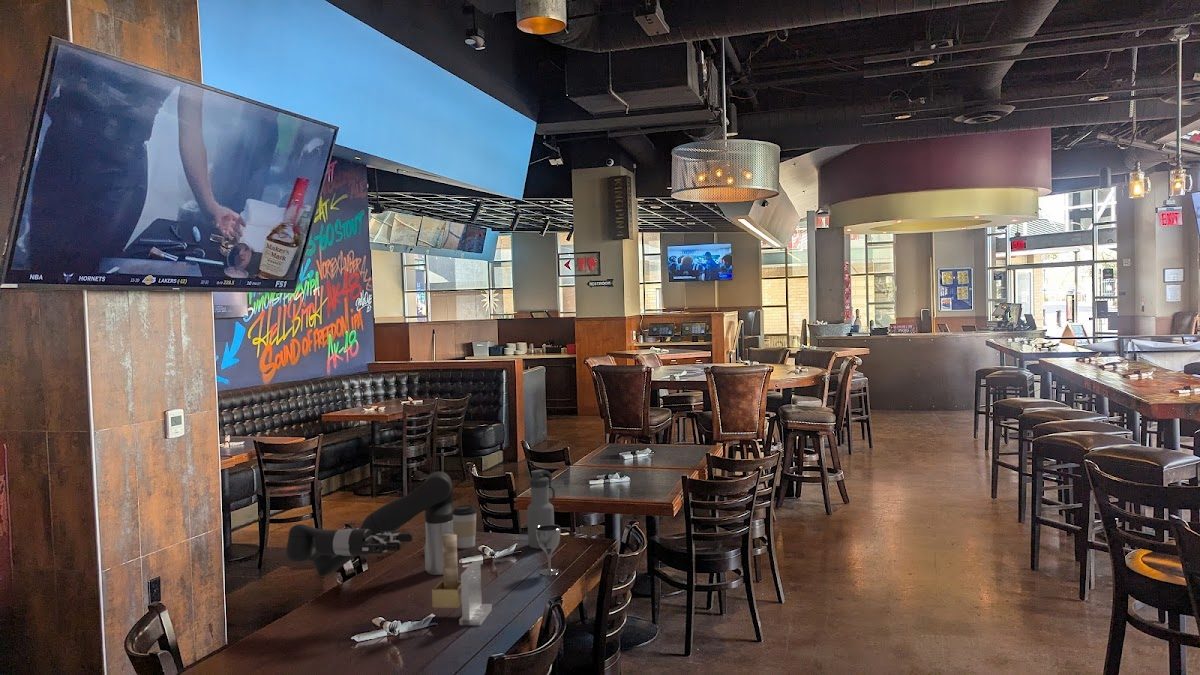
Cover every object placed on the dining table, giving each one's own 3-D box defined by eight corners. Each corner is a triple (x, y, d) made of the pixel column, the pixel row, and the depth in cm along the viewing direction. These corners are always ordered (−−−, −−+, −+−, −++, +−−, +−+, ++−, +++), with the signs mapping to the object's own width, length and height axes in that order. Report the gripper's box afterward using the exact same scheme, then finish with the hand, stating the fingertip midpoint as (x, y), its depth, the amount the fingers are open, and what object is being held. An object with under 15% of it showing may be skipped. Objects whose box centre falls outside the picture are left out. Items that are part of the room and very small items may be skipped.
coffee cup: (448, 547, 288) (447, 507, 288) (463, 541, 296) (462, 502, 296) (468, 550, 284) (466, 509, 284) (482, 543, 292) (481, 504, 292)
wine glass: (560, 576, 251) (559, 530, 251) (536, 576, 251) (534, 531, 251) (562, 568, 259) (561, 524, 259) (539, 569, 259) (537, 524, 259)
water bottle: (542, 540, 294) (539, 466, 293) (561, 544, 288) (558, 469, 287) (523, 546, 286) (520, 471, 285) (542, 551, 280) (539, 474, 279)
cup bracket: (430, 624, 214) (428, 574, 214) (444, 608, 226) (442, 561, 226) (480, 625, 212) (478, 575, 212) (492, 609, 224) (490, 561, 224)
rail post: (441, 599, 219) (439, 536, 220) (452, 595, 222) (450, 533, 223) (450, 602, 217) (448, 537, 217) (461, 598, 220) (459, 534, 220)
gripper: (364, 547, 231) (416, 547, 228) (342, 562, 217) (397, 562, 214) (363, 522, 231) (415, 522, 228) (340, 536, 217) (395, 535, 214)
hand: (406, 541), depth 221 cm, fingers open, 8 cm apart
